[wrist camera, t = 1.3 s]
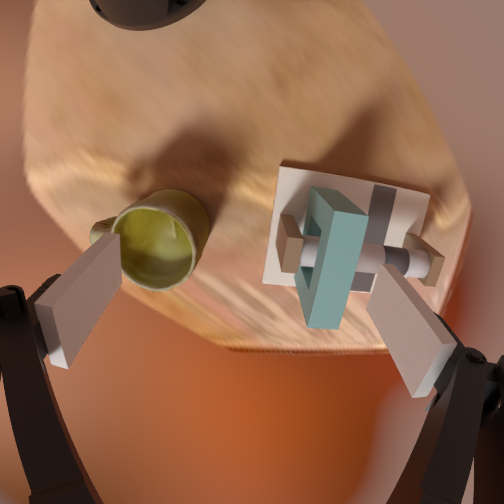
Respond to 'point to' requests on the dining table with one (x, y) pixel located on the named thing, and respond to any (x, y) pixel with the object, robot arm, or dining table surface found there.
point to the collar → (330, 256)
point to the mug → (159, 238)
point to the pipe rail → (376, 236)
